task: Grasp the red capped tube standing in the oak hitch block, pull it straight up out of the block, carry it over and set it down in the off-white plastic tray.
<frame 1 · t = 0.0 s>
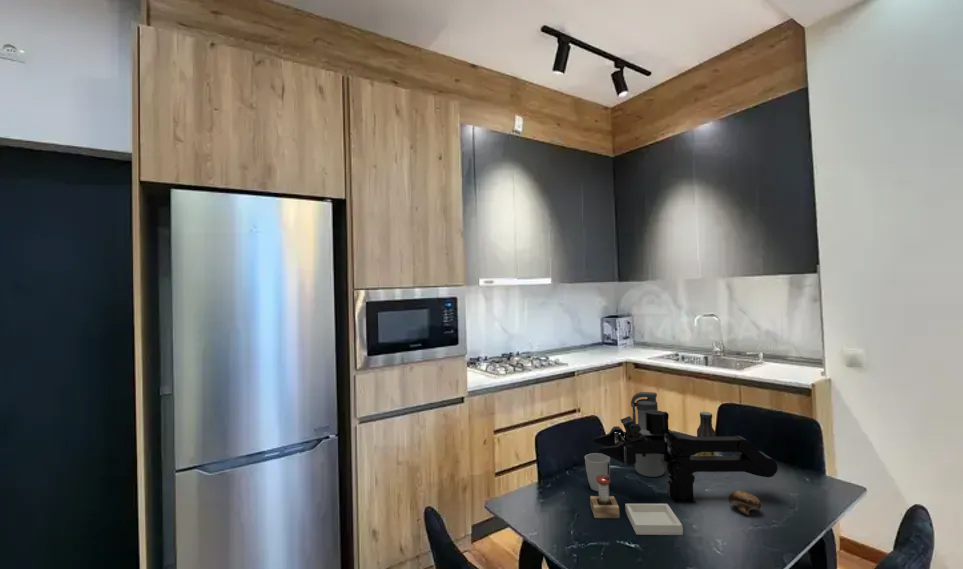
hand: (595, 444, 139), 17 cm above the table, fingers open, 9 cm apart
cup: (598, 488, 146), on the table
red capped tube: (604, 512, 130), resting in hitch block
hitch block: (604, 511, 130), on the table
tray: (652, 522, 123), on the table
sauce bottle: (707, 469, 158), on the table
water bottle: (649, 472, 157), on the table
mushroom: (745, 512, 127), on the table
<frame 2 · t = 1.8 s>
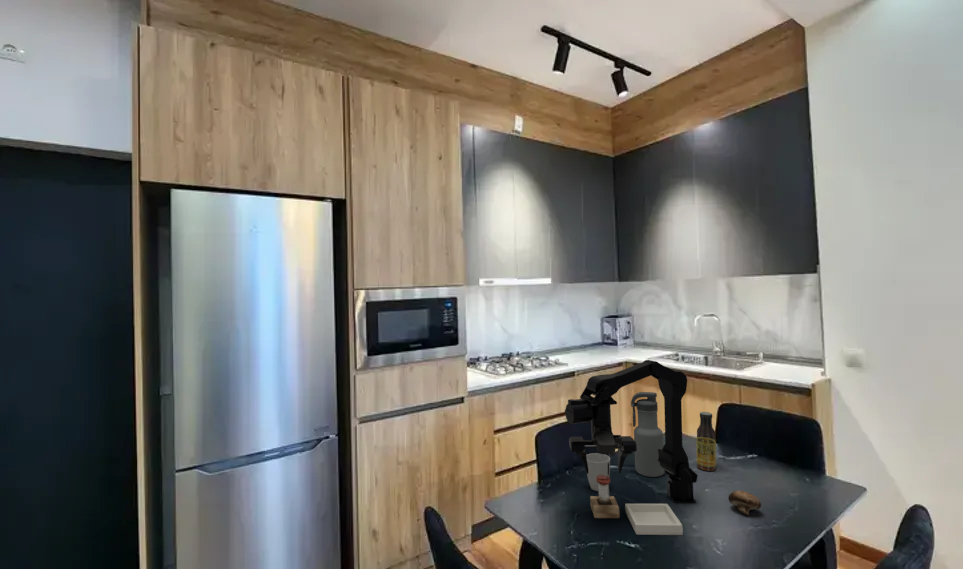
hand: (603, 473, 130), 11 cm above the table, fingers open, 9 cm apart
nothing on the table moved.
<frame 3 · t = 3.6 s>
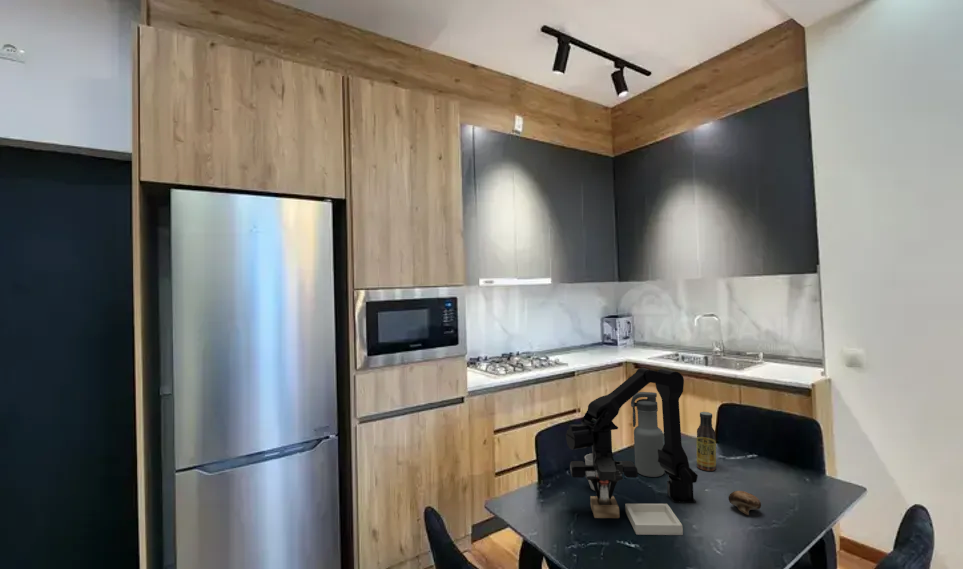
hand: (604, 498, 130), 4 cm above the table, fingers closed on red capped tube, 3 cm apart
red capped tube: (604, 512, 130), resting in hitch block, touching gripper
everything else where it was.
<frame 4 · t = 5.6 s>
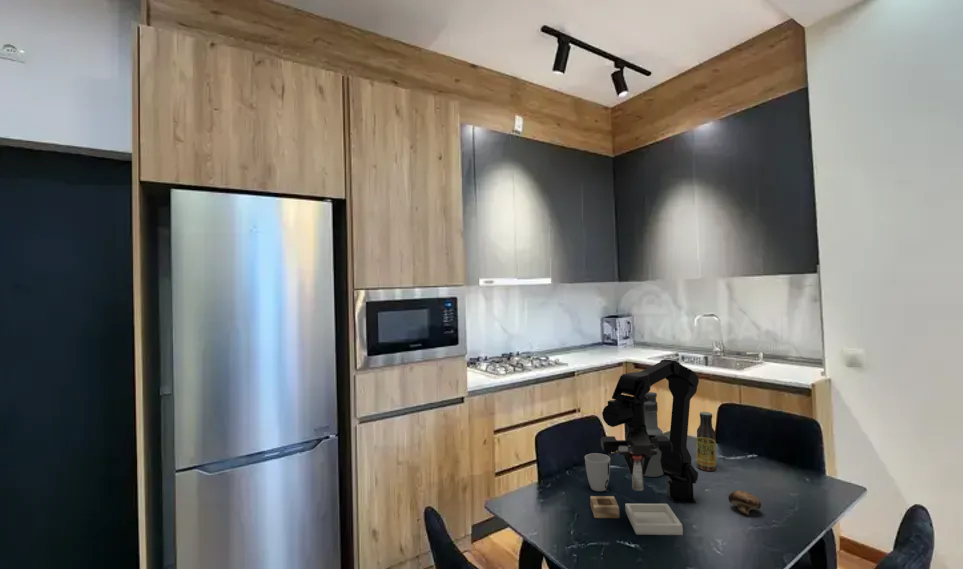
hand: (637, 474, 125), 13 cm above the table, fingers closed on red capped tube, 3 cm apart
red capped tube: (637, 488, 125), point 9 cm above the table, touching gripper
everything else where it was.
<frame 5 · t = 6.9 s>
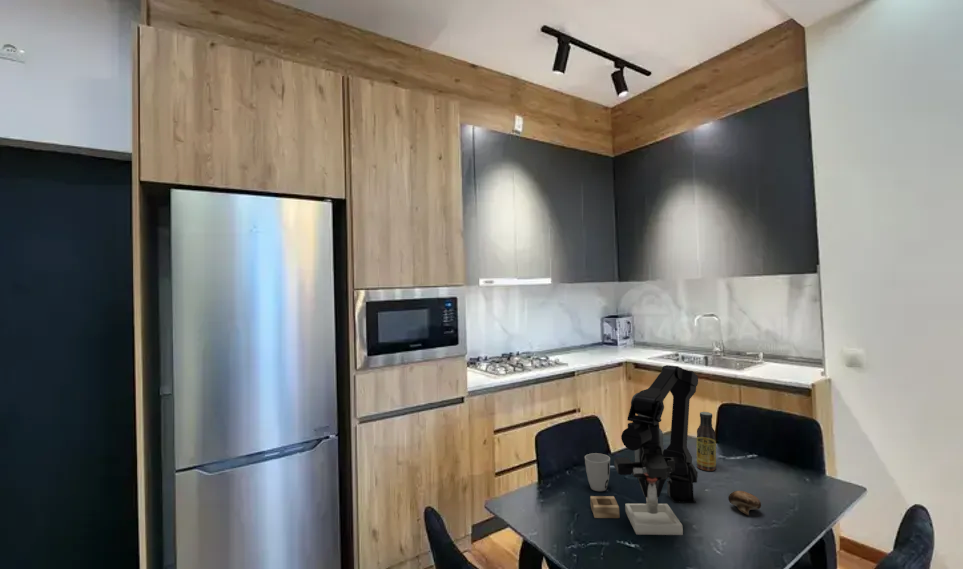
hand: (651, 496, 123), 7 cm above the table, fingers closed on red capped tube, 3 cm apart
red capped tube: (652, 511, 123), point 3 cm above the table, touching gripper
everything else where it was.
when the fingers open (6 cm above the table, at t = 7.8 s): red capped tube drops 1 cm, resting on tray.
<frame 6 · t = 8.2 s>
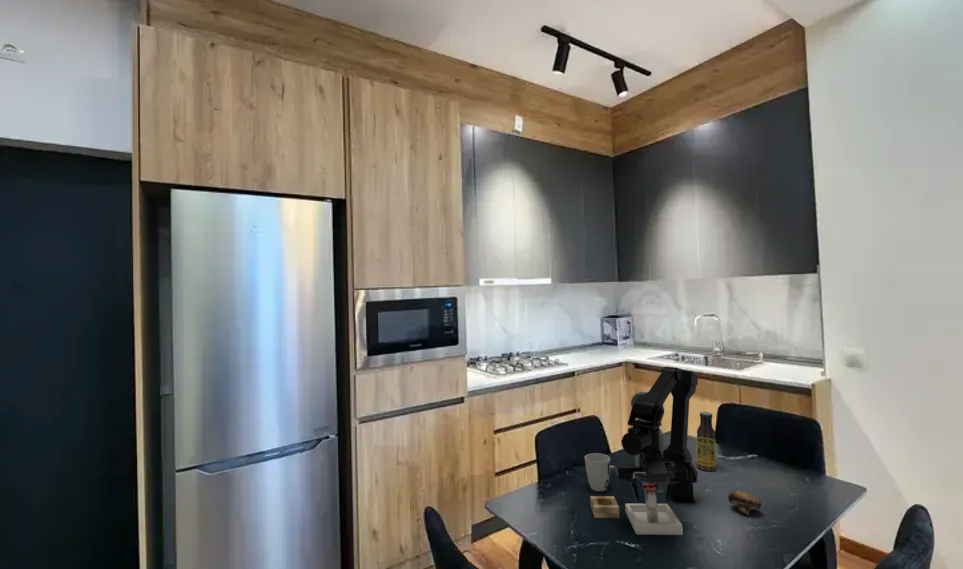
hand: (651, 501, 123), 6 cm above the table, fingers open, 7 cm apart
red capped tube: (652, 520, 123), point 1 cm above the table, touching tray
everything else where it was.
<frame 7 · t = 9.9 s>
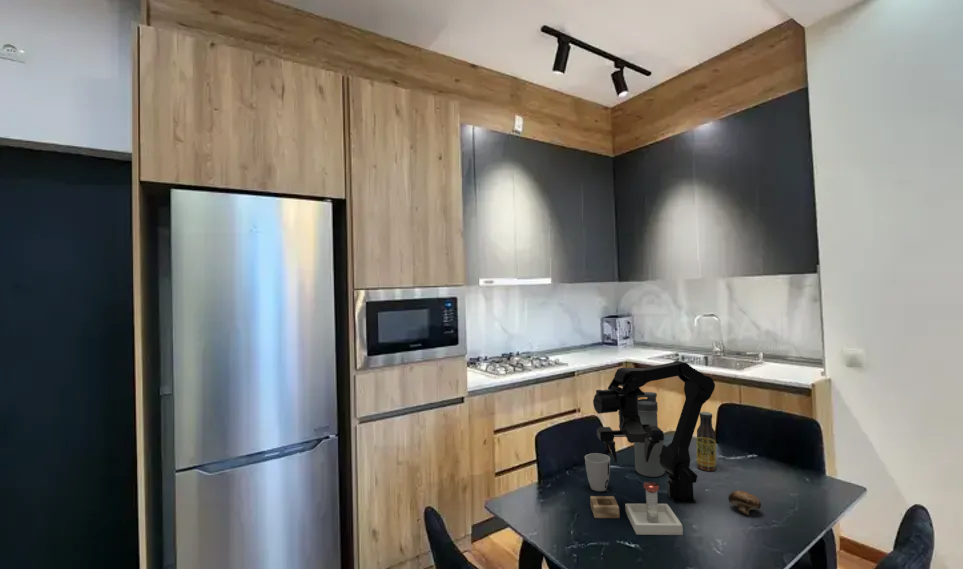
hand: (631, 462, 134), 13 cm above the table, fingers open, 9 cm apart
nothing on the table moved.
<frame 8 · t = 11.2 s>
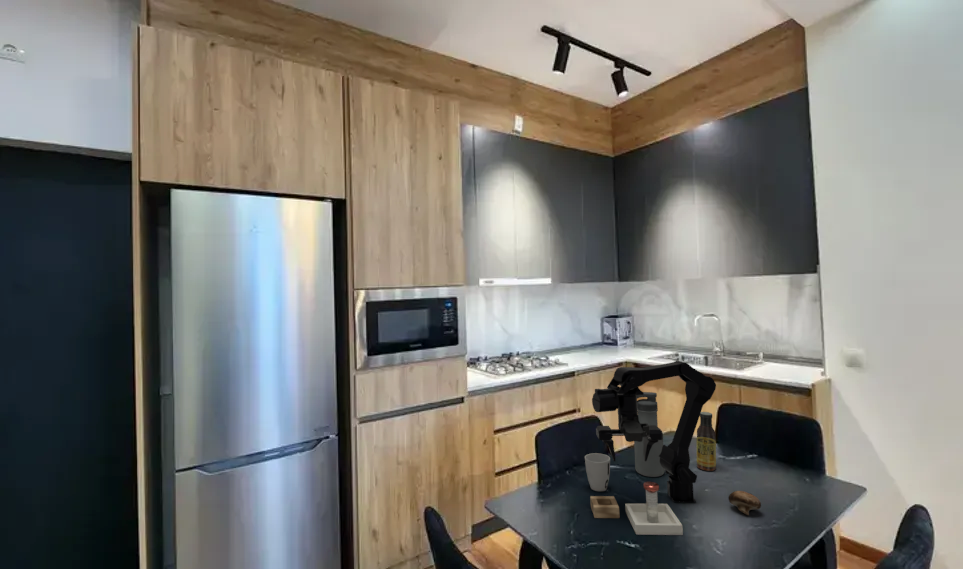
hand: (629, 461, 134), 13 cm above the table, fingers open, 9 cm apart
nothing on the table moved.
at the end: red capped tube inside the target area on the tray (0.0 cm from its centre), point 0.6 cm above the tray's base; red capped tube touching tray; the gripper is holding nothing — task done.
